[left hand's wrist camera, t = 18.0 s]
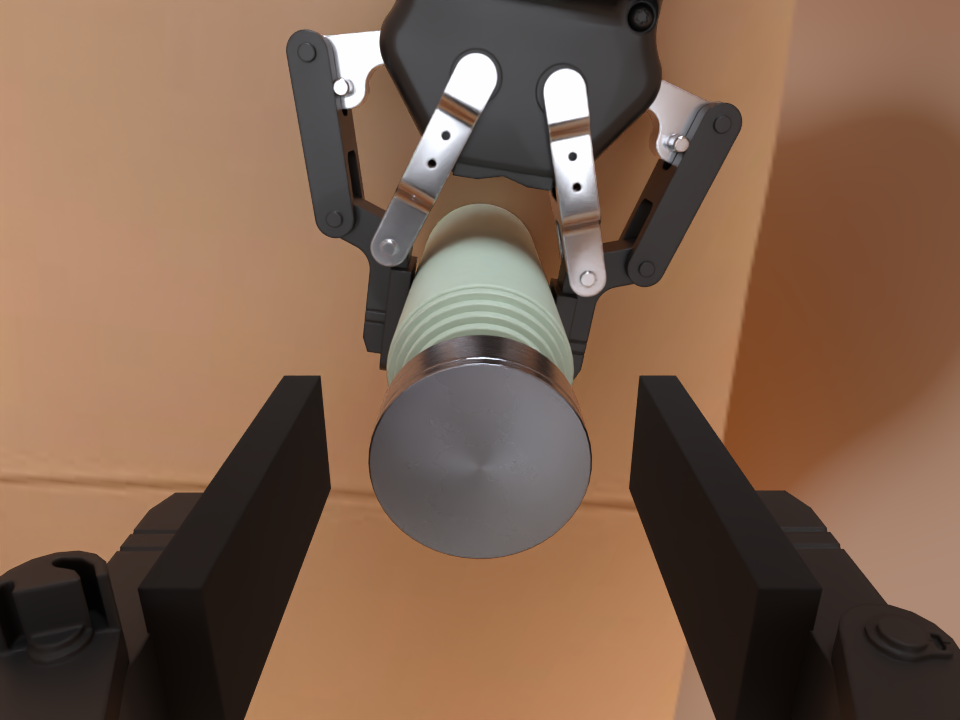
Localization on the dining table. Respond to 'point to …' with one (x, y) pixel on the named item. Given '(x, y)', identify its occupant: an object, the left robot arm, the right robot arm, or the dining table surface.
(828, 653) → the left robot arm
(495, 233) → the bottle
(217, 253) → the dining table surface
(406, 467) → the cap
